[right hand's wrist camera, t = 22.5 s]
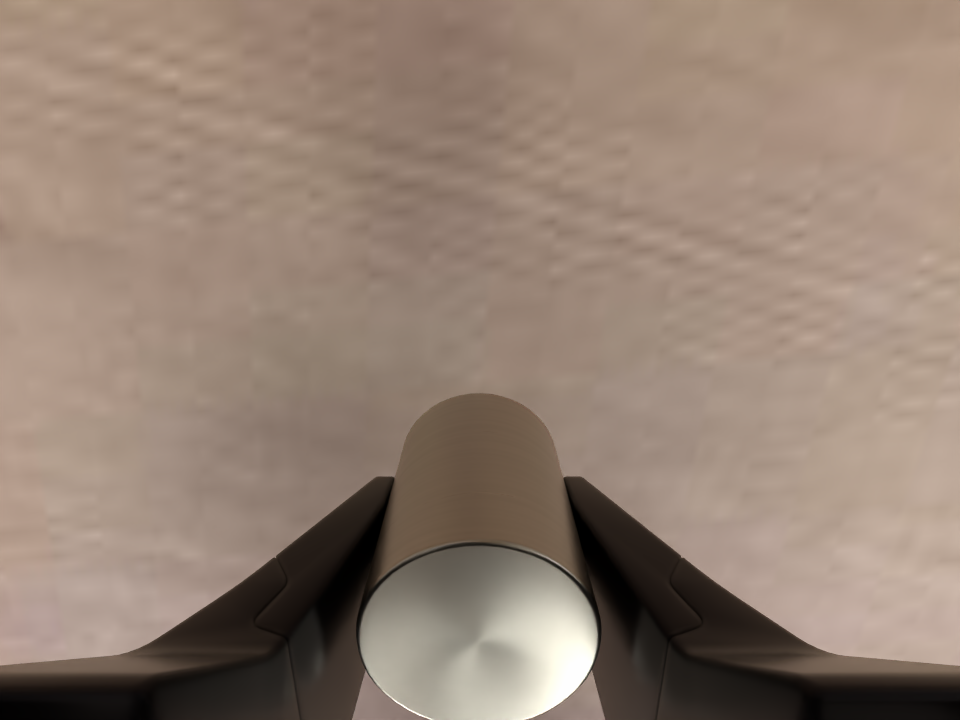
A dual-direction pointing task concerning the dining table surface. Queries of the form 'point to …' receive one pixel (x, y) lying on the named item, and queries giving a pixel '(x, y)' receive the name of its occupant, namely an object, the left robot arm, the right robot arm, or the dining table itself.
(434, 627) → the canister
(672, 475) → the dining table surface
